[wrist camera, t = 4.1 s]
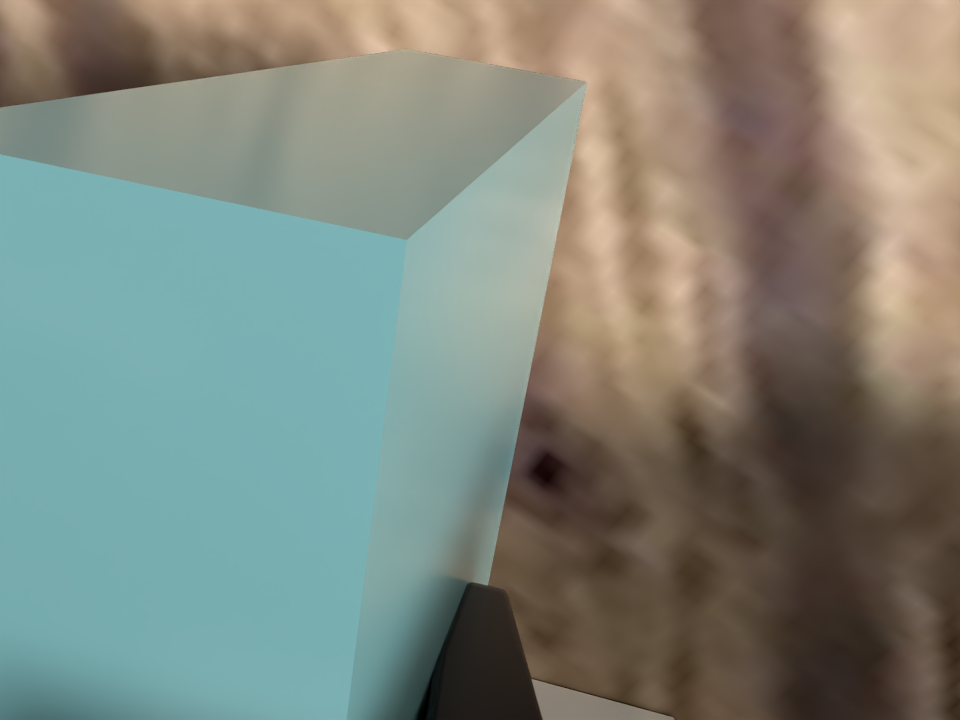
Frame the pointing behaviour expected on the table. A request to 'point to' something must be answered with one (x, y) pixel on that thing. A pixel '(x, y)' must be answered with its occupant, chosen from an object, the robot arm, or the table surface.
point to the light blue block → (264, 380)
